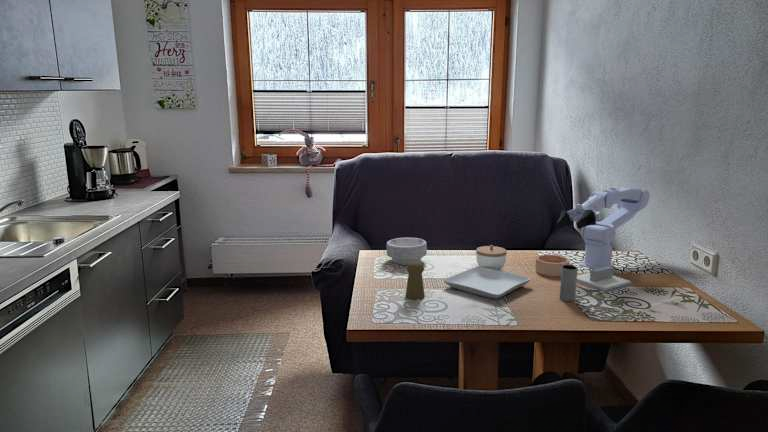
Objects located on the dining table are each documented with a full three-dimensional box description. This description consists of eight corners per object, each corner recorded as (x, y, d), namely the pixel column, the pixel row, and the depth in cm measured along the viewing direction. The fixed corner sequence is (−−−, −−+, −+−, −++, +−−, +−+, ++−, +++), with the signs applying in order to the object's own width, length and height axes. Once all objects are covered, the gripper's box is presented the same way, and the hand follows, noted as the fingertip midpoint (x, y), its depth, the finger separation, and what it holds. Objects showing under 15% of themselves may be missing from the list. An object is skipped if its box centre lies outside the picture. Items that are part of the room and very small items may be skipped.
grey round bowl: (384, 256, 213) (384, 237, 211) (422, 255, 214) (422, 236, 212) (389, 268, 198) (388, 247, 196) (430, 267, 199) (430, 246, 198)
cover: (597, 272, 191) (598, 261, 190) (630, 283, 180) (631, 271, 179) (572, 279, 184) (573, 266, 183) (604, 290, 173) (605, 277, 172)
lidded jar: (503, 266, 200) (505, 241, 198) (507, 275, 189) (508, 249, 187) (474, 265, 201) (475, 241, 199) (476, 274, 190) (477, 249, 188)
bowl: (550, 266, 200) (551, 253, 199) (575, 274, 191) (576, 260, 189) (528, 270, 194) (529, 257, 193) (552, 279, 185) (553, 265, 184)
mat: (596, 272, 193) (596, 271, 193) (637, 285, 179) (637, 283, 179) (565, 279, 185) (565, 278, 185) (605, 293, 171) (605, 292, 171)
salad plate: (441, 289, 177) (441, 278, 176) (477, 274, 192) (477, 264, 192) (498, 305, 163) (498, 294, 162) (532, 287, 178) (532, 277, 177)
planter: (567, 302, 164) (569, 270, 162) (556, 297, 168) (558, 266, 166) (578, 300, 166) (580, 267, 164) (567, 295, 170) (569, 264, 168)
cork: (426, 294, 171) (427, 260, 169) (421, 300, 166) (422, 266, 163) (408, 292, 173) (408, 259, 171) (402, 298, 168) (403, 264, 165)
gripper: (567, 199, 195) (546, 215, 187) (605, 198, 183) (583, 214, 176) (572, 217, 197) (551, 233, 189) (609, 217, 185) (589, 234, 177)
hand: (567, 225), depth 183 cm, fingers open, 7 cm apart
